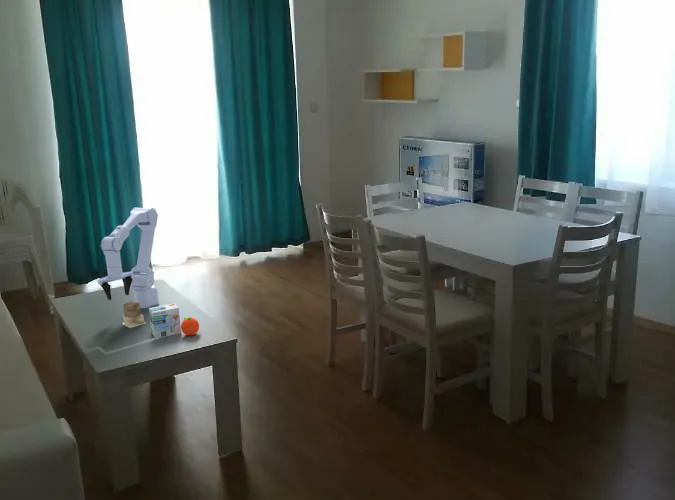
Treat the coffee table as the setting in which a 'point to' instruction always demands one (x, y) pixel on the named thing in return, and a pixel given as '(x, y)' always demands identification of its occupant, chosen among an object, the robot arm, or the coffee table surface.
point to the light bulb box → (165, 320)
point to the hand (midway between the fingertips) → (118, 297)
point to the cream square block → (133, 320)
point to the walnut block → (132, 309)
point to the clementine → (190, 326)
